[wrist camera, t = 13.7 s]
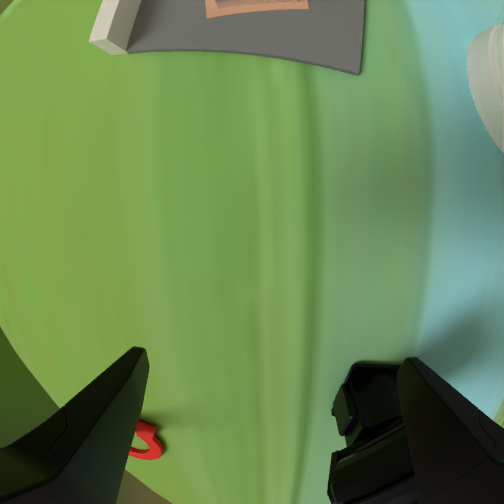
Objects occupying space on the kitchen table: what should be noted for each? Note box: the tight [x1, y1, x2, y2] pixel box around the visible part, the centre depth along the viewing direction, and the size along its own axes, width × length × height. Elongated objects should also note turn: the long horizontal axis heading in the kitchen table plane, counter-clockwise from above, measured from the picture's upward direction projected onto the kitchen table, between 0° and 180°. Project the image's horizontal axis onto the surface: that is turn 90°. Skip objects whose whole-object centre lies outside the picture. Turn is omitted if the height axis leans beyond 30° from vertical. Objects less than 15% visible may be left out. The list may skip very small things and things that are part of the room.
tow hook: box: [129, 421, 163, 460], centre depth 22 cm, size 8×13×9 cm
